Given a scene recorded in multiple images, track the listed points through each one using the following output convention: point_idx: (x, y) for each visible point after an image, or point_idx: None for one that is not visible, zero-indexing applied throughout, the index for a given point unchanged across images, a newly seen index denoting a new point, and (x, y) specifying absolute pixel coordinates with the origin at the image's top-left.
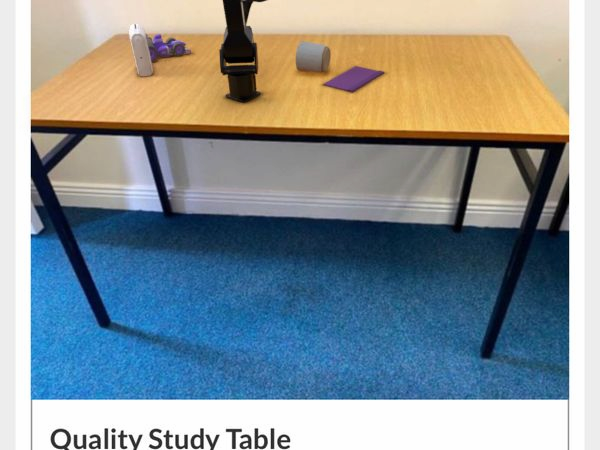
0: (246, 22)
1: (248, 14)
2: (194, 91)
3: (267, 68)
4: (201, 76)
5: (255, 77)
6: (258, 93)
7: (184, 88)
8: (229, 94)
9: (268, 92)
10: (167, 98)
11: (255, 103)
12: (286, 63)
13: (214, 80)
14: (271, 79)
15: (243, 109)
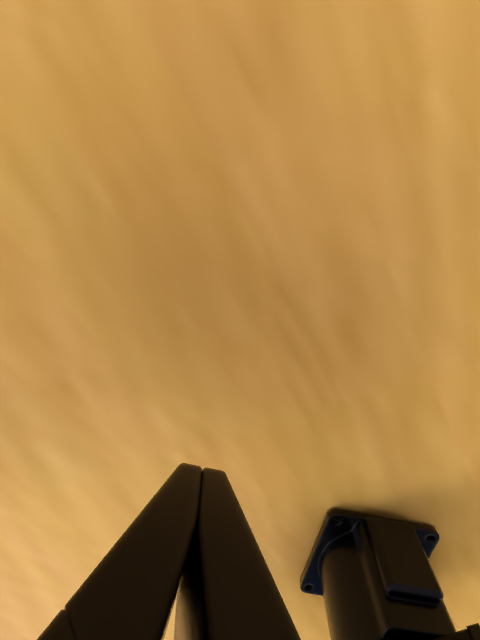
0: (234, 504)
1: (281, 610)
2: None
3: (332, 214)
4: (44, 444)
5: (437, 582)
6: (432, 545)
7: (81, 563)
8: (313, 581)
9: (459, 497)
10: None
11: None
12: (435, 59)
13: (141, 464)
14: (423, 365)
15: None
